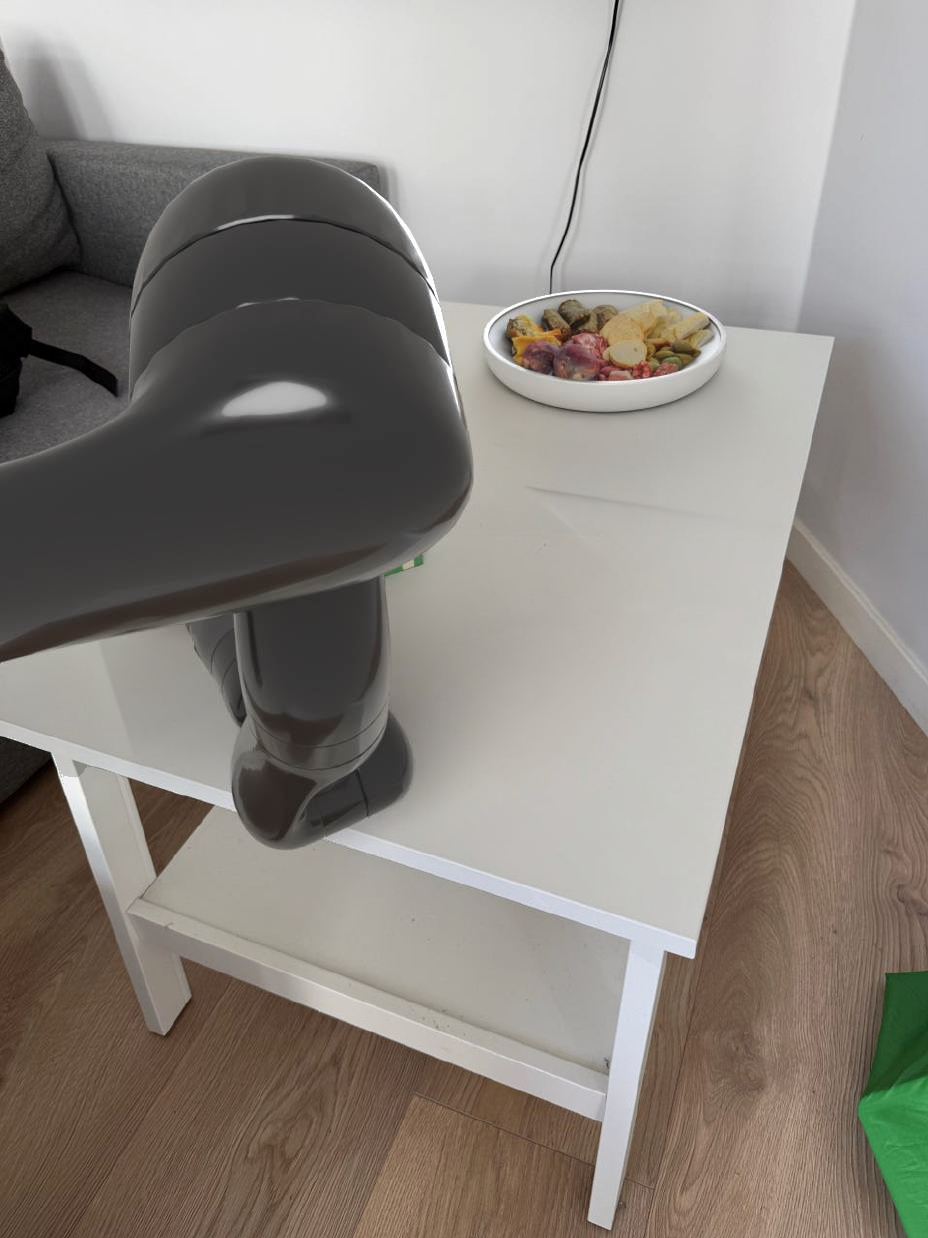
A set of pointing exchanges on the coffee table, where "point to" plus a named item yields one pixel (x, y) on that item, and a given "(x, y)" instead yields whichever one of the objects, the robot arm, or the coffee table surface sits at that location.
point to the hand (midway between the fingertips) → (186, 514)
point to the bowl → (604, 349)
